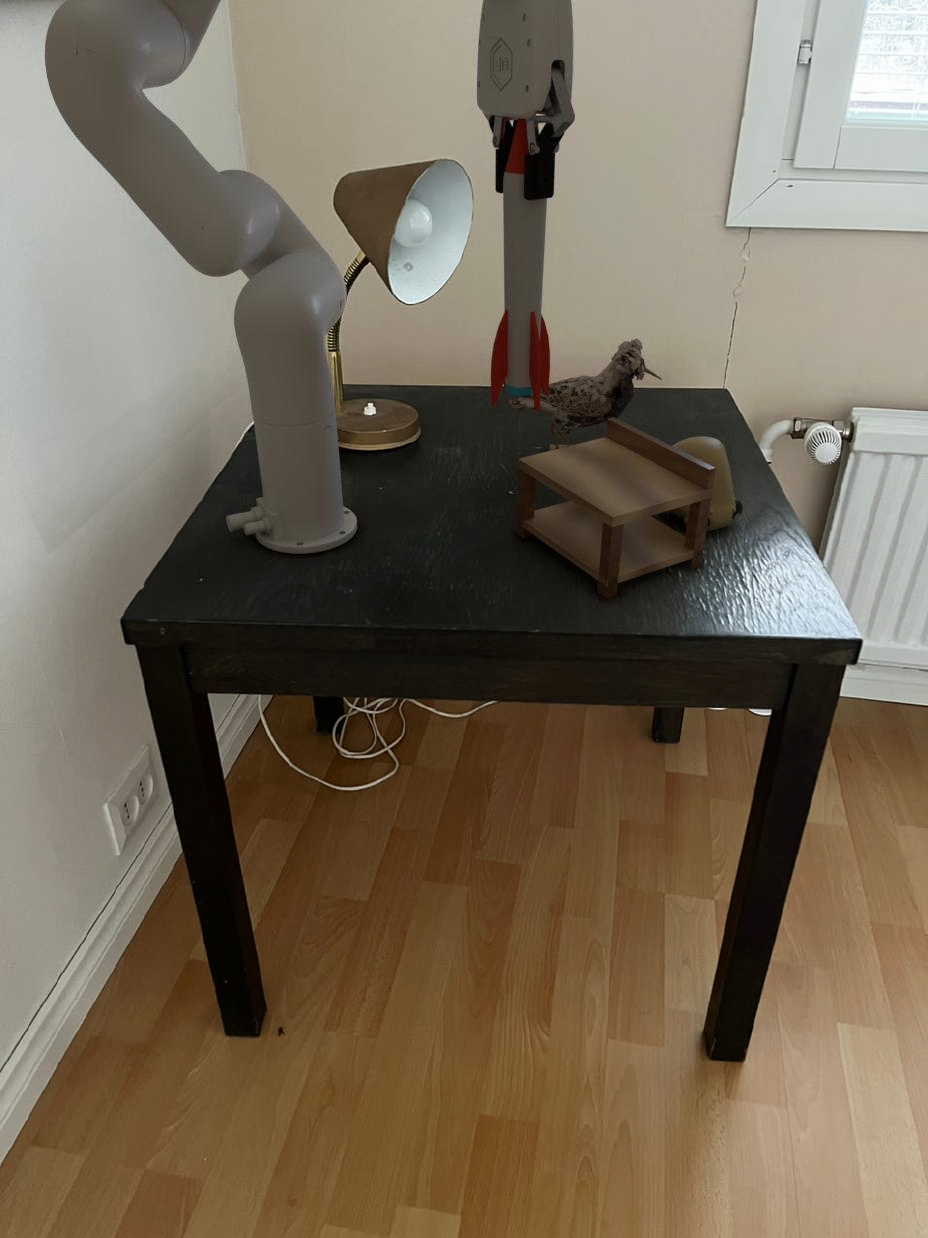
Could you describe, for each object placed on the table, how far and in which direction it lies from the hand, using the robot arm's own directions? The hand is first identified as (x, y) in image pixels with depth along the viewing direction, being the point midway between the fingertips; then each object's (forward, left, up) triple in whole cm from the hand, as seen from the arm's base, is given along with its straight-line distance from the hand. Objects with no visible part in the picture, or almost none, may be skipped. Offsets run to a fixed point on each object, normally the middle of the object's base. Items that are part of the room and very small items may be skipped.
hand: (524, 192), depth 94 cm
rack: (+9, -7, -39) cm, 41 cm away
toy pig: (+24, -6, -40) cm, 47 cm away
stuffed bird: (+22, +16, -40) cm, 48 cm away
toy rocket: (0, 0, -22) cm, 22 cm away
